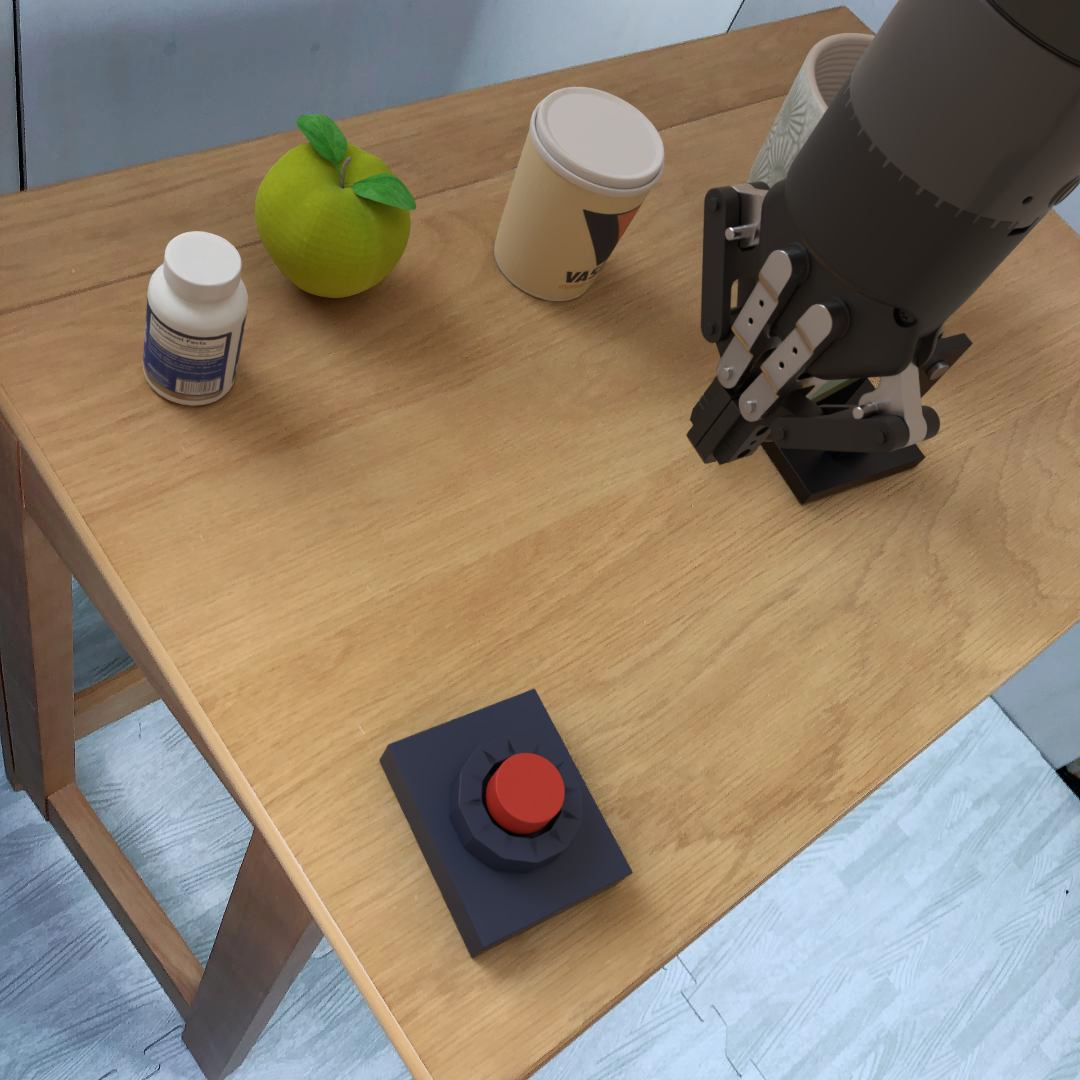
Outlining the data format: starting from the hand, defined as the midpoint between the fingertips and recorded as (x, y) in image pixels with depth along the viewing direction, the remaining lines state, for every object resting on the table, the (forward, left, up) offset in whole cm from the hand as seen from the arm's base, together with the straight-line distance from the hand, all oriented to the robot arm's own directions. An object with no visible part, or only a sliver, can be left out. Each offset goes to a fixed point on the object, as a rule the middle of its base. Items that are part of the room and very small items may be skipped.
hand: (711, 447), depth 49 cm
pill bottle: (+25, +12, -22) cm, 35 cm away
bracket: (+9, -30, -22) cm, 38 cm away
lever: (+9, -26, -15) cm, 31 cm away
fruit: (+31, +1, -22) cm, 38 cm away
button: (-7, +7, -18) cm, 21 cm away
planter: (+25, -40, -22) cm, 52 cm away
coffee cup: (+29, -16, -22) cm, 40 cm away
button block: (-7, +7, -22) cm, 24 cm away
